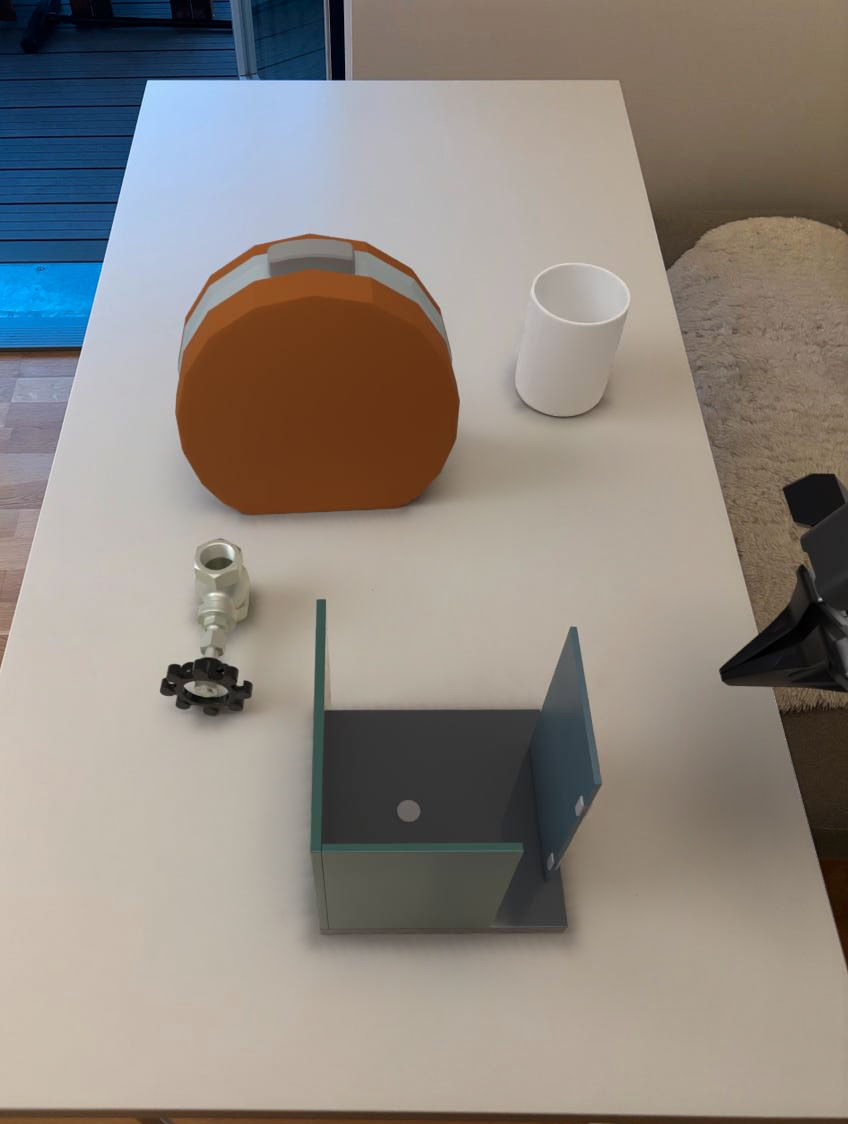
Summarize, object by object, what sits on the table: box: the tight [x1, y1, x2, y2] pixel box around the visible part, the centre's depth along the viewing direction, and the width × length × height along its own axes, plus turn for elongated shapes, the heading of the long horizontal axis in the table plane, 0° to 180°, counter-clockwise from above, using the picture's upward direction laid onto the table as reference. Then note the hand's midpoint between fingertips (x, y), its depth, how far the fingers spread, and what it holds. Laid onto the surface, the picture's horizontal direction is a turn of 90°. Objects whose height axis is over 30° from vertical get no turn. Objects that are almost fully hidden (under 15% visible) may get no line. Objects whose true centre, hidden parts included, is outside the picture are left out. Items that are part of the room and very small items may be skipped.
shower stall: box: [309, 598, 569, 935], centre depth 58 cm, size 16×16×15 cm
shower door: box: [529, 626, 603, 878], centre depth 57 cm, size 2×10×15 cm, turn 1°
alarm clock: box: [174, 233, 461, 516], centre depth 72 cm, size 22×10×23 cm, turn 94°
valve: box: [159, 537, 254, 717], centre depth 69 cm, size 7×7×12 cm
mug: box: [514, 262, 632, 418], centre depth 84 cm, size 9×12×11 cm
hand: (722, 677), depth 56 cm, fingers closed
